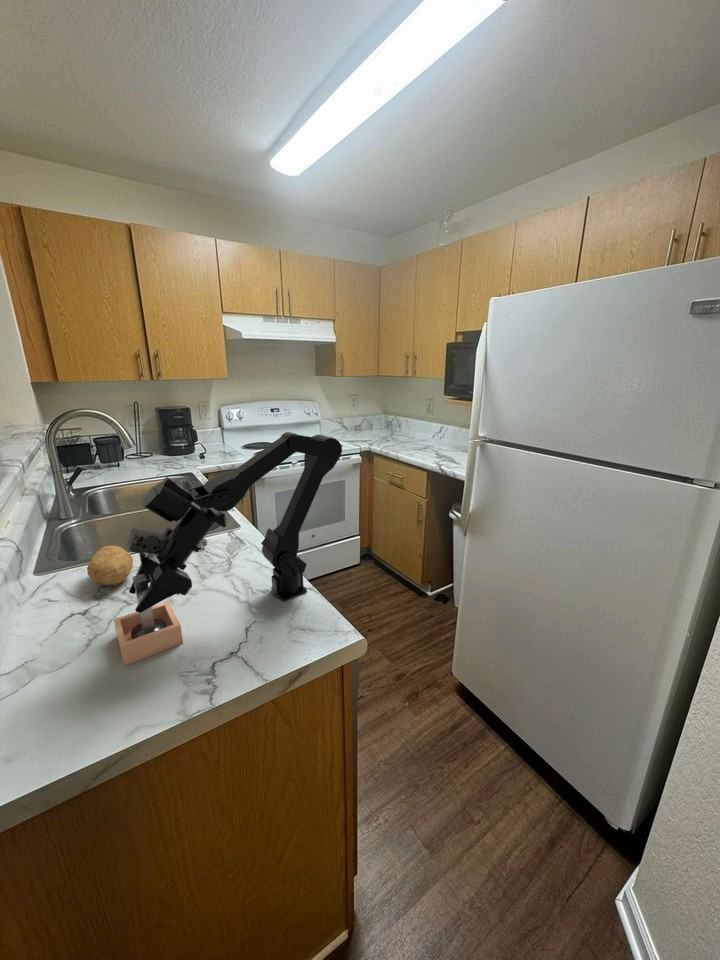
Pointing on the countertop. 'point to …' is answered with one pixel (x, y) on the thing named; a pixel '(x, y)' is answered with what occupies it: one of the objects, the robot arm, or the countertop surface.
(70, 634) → the countertop surface
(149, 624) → the grey stamp
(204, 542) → the kitchen whisk
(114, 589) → the countertop surface
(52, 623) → the countertop surface
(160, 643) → the peach square open box
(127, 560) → the potato
